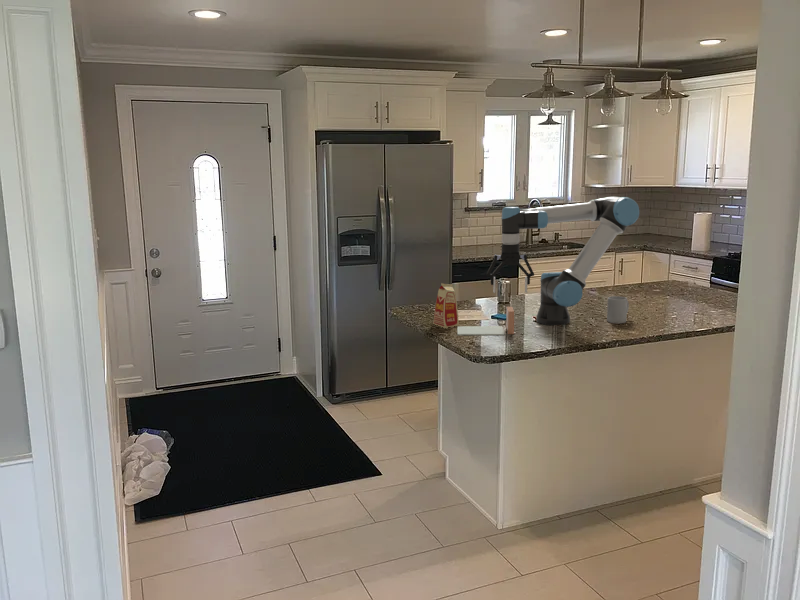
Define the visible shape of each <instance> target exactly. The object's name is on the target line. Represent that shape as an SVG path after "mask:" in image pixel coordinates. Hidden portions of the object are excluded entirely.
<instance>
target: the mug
mask: <svg viewBox="0 0 800 600" xmlns="http://www.w3.org/2000/svg"><path fill="white" fill-rule="evenodd" d="M629 305H630V303H629V301H628V297H626V296H619V295H618V296H617V295H615V296H614V295H612V296H608V297H607V308H606V309H607V312H606V322H607V321H608V322H607V323H611V324H625V323H627V318H628V317H627V315H628V314H627V313H628V312H629V309H630V308H629V307H630V306H629Z"/></svg>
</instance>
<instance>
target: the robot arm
mask: <svg viewBox="0 0 800 600" xmlns="http://www.w3.org/2000/svg"><path fill="white" fill-rule="evenodd" d="M639 218H640V207H639V204H638V202H636V200H634V199H633V198H630V197H628V196H621V197H620V196H616V195H615V196H613V195H612V196H611V195H610V196H606V197H601V198H596V199H590V200H589V201H588V202H581V203H571V204H563V205H562V204H561V205H554V206H553V205H552V206H541V207H535V208H532V207H531V208H520V207H519V206H505V207H503V208H502V209H501V243H502V244H501V254H494V255H493V260H492V262H491V264H490V266H489V267H488V270H487V271H486V276H487V277H489V278H490V285H491V286H493V287H492V291H493V294H495V293H496V275H497V274H498V273H499V271H500V270H501V269H502V268H503V267H504V266H505V265H506V266H515V265H516V266H518V268H519V269H520V270H521V271H522V272H523V274H524V275H525V276H524V293H526V294H527V293H528V285H529V286H530V283H531V277H534V276H535V273H534V270H533V269H532V267H531V264H530V263H529V261H528V256H527V254H526V253H524V254H520V244H519V243H520V230H525V229H526V230H529V229H532V230H533V229H538V230H539V229H546V228H547V227H548V224H556V223H557V224H558V223H567V222H577V221H586V220H587V221H588V220H590V221H591V222H600V224H598V226H597V228H596V229H595V231H594V232H593V233H592V234H591V236H590V238H589V239H588V240H587V242H586V244H585V245H584V246H583V248H582V249H581V251H580V252H579V253H578V255H577V257H576V258H575V259H574V260H573V262H572V263H571V265H570V266H569V267H568V269H563V270H562V271H558V272H557V271H556V272H555V271H554V272H553V271H552V272H550V271H549V272H542V273H541V276H540V280H539V281H540V305H539V308H538V312H537V314H536V320H535V321H536V323H538V324H540V325H541V324H542V325H548V326H563V325H568V324H570V322H571V317H570V313H569V310H568V308H569V307H573V306H576V305H577V304H578V303H580V301H581V300H582V298H583V290H584V289H585V287H586V286H587V282H586V279H587V278H588V277H589V275H590V274H591V273H592V271H593V269H594V268H595V267H596V265H597V264H598V262H599V261H600V260H601V258H602V257H603V255H604V254H605V253H606V251H607V250H608V248H609V247H610V246H611V244H612V243H613V241H614V239H616V237H617V236H618V235H619V234H623V233H624V232H625V230H626V229H627V228H628V227H629V226H632V225H633V224H635V223H636V221H638V219H639ZM499 259H501V262H500V263H499V265H498V266H497V267H496V268H495V269H494V267H495V266H496V264H497V261H499ZM520 259H522V260H523V261H524V264H525V265H526V268H527V270H528V271H529V272H528V271H527V270H526V269H525V268H524V267H523V265H522V264H521V263H520V262H519V261H520ZM492 271H493V272H492Z"/></svg>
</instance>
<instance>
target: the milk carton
mask: <svg viewBox="0 0 800 600" xmlns="http://www.w3.org/2000/svg"><path fill="white" fill-rule="evenodd" d="M440 284H441V286H440V287H439V288H438V291H437V296H436V301H435V307H434V312H433V323H432V325H433V324H435V325H438V326H441V327H440V328H442V327H443V328H442V329H445V328H446V329H449V328H448V327H451V328H454V326H455V327H457V326H459V325H460V324H459V322H460V321H459V311H458V302H457V296H456V291H455V289H454V287H453V286H454V284H448V283H443V282H441V283H440ZM435 325H434V326H435ZM438 326H437V327H438Z"/></svg>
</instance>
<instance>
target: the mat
mask: <svg viewBox="0 0 800 600" xmlns="http://www.w3.org/2000/svg"><path fill="white" fill-rule="evenodd" d="M456 327H457V330H456V331H457V334H456V335H457V336H505V331H504V328H503V326H502V325H500V326H499V325H493V326H492V325H490V326H487V325H480V326H479V325H475V326H474V325H473V326H470V325H469V326H468V325H467V326H465V325H464V326H463V325H462V326H456Z"/></svg>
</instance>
